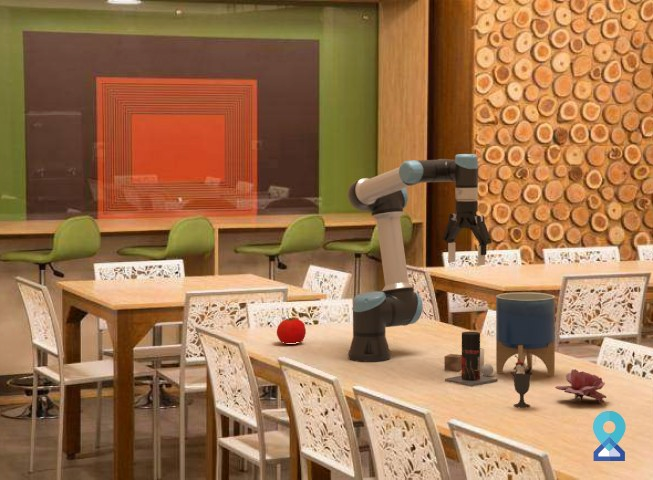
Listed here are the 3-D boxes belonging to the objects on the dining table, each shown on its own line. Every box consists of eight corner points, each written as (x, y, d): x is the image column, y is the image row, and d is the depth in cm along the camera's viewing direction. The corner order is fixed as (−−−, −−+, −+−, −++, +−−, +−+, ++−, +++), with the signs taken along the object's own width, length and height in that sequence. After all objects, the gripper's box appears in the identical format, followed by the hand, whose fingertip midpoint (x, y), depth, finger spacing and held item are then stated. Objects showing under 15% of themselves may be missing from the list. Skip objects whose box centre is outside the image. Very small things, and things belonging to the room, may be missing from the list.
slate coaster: (444, 381, 406) (444, 378, 406) (470, 376, 414) (470, 373, 414) (472, 386, 397) (472, 384, 397) (497, 381, 405) (497, 378, 405)
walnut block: (444, 370, 424) (444, 356, 423) (450, 368, 428) (450, 353, 428) (458, 372, 421) (458, 357, 421) (463, 369, 426) (463, 355, 425)
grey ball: (478, 376, 414) (478, 364, 413) (486, 374, 416) (486, 362, 416) (487, 377, 411) (487, 365, 410) (495, 376, 413) (495, 364, 413)
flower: (575, 400, 362) (580, 366, 364) (546, 397, 376) (552, 364, 377) (616, 410, 368) (622, 376, 369) (587, 406, 381) (592, 374, 383)
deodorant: (479, 380, 402) (479, 334, 400) (460, 380, 403) (460, 334, 402) (480, 377, 408) (480, 331, 406) (462, 376, 409) (462, 331, 407)
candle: (458, 372, 420) (458, 349, 419) (473, 370, 424) (472, 346, 424) (474, 375, 414) (474, 351, 414) (488, 372, 419) (488, 349, 418)
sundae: (507, 403, 372) (507, 354, 370) (530, 403, 372) (530, 353, 371) (513, 408, 365) (513, 358, 364) (535, 408, 366) (535, 357, 364)
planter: (558, 370, 421) (559, 293, 419) (549, 381, 403) (550, 301, 401) (502, 367, 427) (502, 291, 425) (490, 378, 409) (490, 298, 407)
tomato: (312, 342, 482) (312, 316, 481) (294, 347, 471) (293, 321, 470) (288, 340, 488) (288, 314, 487) (270, 345, 477) (269, 319, 476)
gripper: (432, 199, 425) (432, 261, 427) (486, 202, 406) (486, 267, 408) (447, 198, 429) (447, 259, 431) (502, 201, 411) (502, 265, 412)
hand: (466, 263), depth 420 cm, fingers open, 13 cm apart
